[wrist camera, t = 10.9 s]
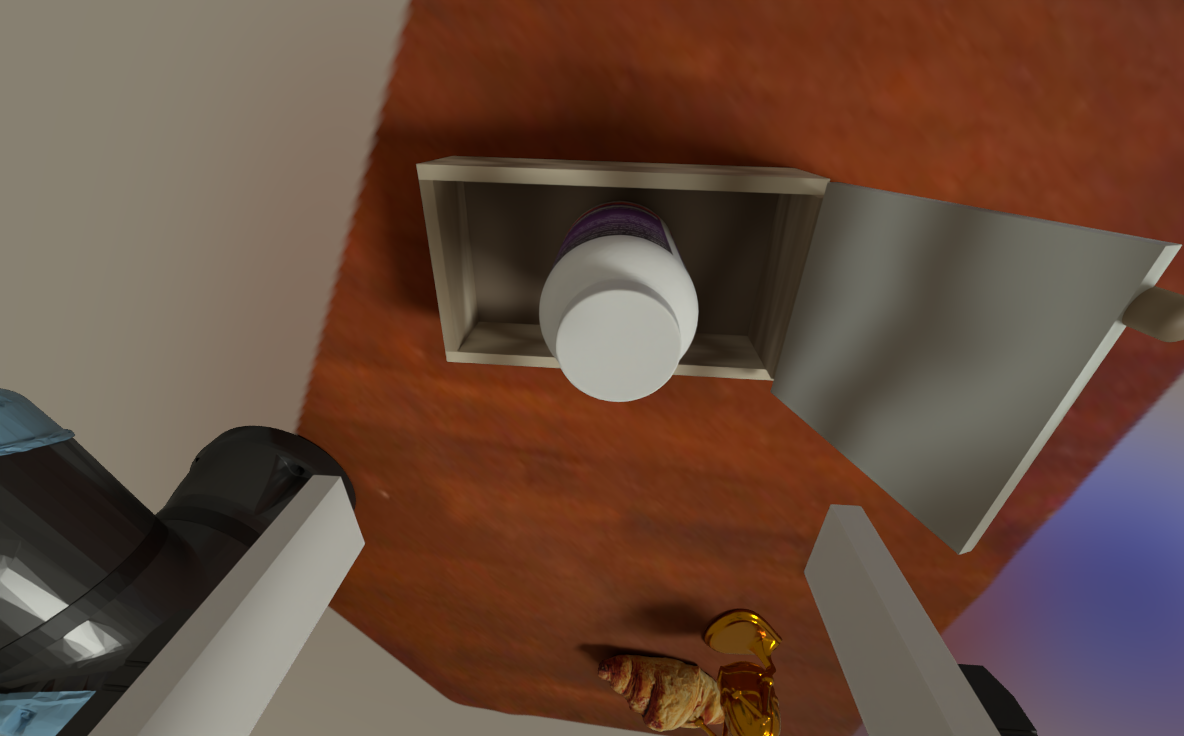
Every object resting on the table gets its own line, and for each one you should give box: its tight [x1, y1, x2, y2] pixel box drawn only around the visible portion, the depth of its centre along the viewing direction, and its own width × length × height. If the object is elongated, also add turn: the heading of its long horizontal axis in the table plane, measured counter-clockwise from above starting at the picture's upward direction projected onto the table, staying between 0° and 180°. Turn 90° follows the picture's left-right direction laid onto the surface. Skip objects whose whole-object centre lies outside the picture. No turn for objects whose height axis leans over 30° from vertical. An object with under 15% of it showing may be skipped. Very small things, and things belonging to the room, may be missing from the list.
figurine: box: [694, 609, 782, 736], centre depth 49 cm, size 8×11×12 cm
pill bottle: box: [539, 201, 698, 402], centre depth 25 cm, size 8×8×14 cm
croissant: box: [598, 655, 724, 732], centre depth 58 cm, size 21×10×8 cm, turn 62°
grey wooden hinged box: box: [416, 156, 1184, 554], centre depth 23 cm, size 28×13×20 cm, turn 89°
